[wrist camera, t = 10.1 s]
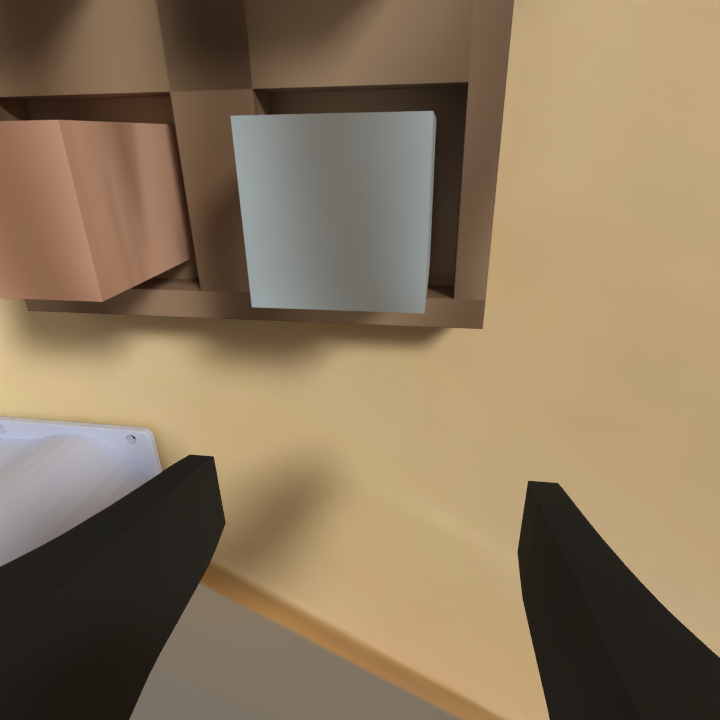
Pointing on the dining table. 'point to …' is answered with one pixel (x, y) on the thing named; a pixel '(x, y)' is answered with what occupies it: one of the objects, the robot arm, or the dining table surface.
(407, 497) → the dining table surface
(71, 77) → the puzzle board
